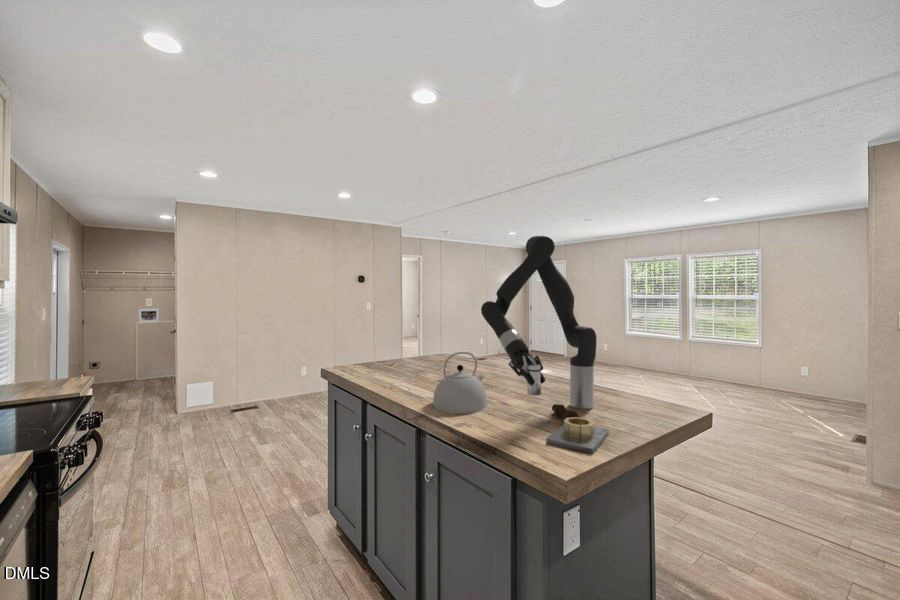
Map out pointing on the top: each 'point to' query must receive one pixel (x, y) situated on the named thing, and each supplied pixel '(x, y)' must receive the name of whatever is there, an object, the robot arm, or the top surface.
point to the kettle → (460, 391)
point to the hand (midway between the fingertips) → (538, 382)
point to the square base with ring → (578, 435)
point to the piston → (536, 375)
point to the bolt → (563, 412)
